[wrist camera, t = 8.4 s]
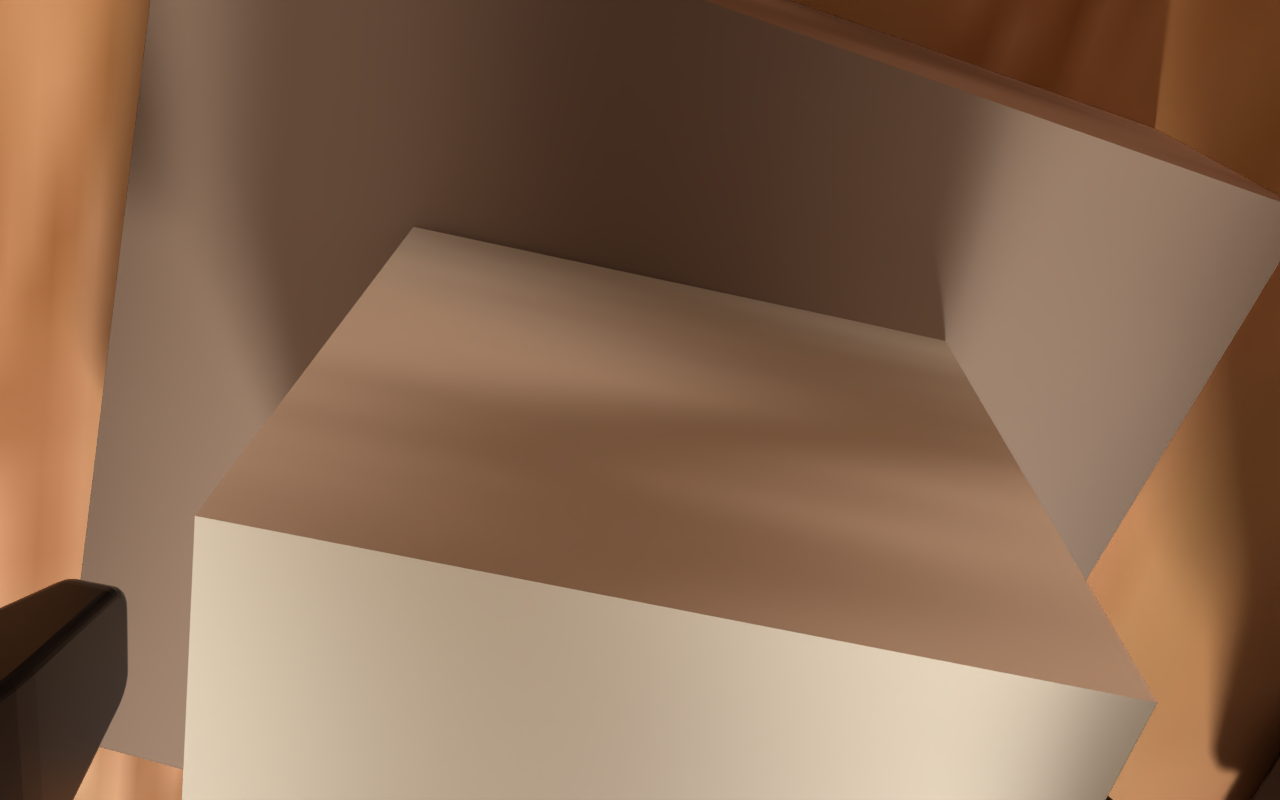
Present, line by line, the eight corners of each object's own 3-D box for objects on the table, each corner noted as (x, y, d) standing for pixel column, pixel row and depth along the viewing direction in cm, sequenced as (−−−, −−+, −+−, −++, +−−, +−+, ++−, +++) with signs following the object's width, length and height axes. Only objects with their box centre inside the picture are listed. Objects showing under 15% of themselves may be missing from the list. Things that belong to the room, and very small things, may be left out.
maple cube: (944, 339, 10) (1156, 701, 6) (800, 742, 12) (872, 1240, 8) (414, 226, 10) (192, 515, 5) (357, 660, 12) (168, 1127, 8)
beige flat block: (1141, 121, 13) (1308, 211, 10) (826, 729, 17) (859, 951, 14) (327, -167, 12) (173, -187, 9) (200, 548, 16) (61, 736, 13)
